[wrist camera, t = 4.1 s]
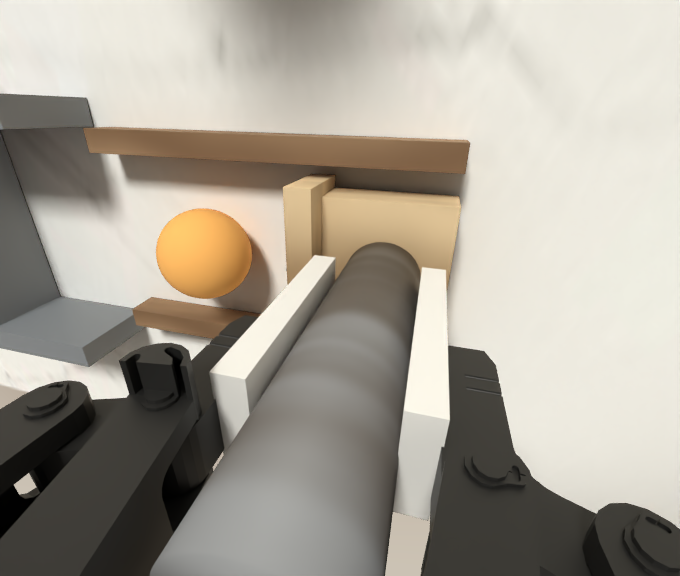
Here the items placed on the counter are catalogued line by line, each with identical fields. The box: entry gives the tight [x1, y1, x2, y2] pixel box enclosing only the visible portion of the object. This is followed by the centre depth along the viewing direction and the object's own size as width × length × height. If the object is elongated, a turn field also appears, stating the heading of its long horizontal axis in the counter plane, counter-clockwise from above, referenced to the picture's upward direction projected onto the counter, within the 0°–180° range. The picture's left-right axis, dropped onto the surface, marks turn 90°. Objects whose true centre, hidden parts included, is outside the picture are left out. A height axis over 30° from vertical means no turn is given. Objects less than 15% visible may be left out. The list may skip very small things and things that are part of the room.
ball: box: [156, 209, 252, 299], centre depth 16 cm, size 4×4×4 cm
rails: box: [83, 127, 470, 339], centre depth 17 cm, size 10×16×2 cm, turn 88°
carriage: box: [150, 174, 461, 576], centre depth 10 cm, size 7×6×13 cm
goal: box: [0, 94, 144, 367], centre depth 18 cm, size 12×7×4 cm, turn 179°
